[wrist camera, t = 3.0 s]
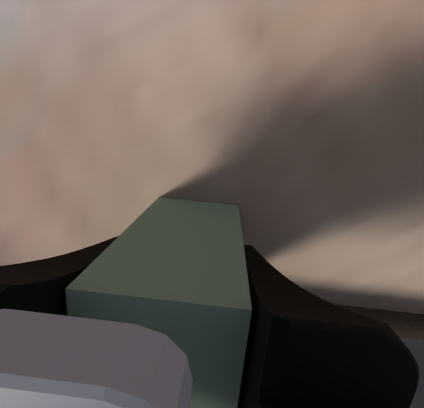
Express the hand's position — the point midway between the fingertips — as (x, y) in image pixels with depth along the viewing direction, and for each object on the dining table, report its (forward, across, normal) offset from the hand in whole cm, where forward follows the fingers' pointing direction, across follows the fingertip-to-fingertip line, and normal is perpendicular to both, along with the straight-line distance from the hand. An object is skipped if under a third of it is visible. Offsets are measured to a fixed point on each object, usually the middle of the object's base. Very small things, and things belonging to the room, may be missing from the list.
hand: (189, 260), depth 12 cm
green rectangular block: (+2, 0, 0) cm, 2 cm away
